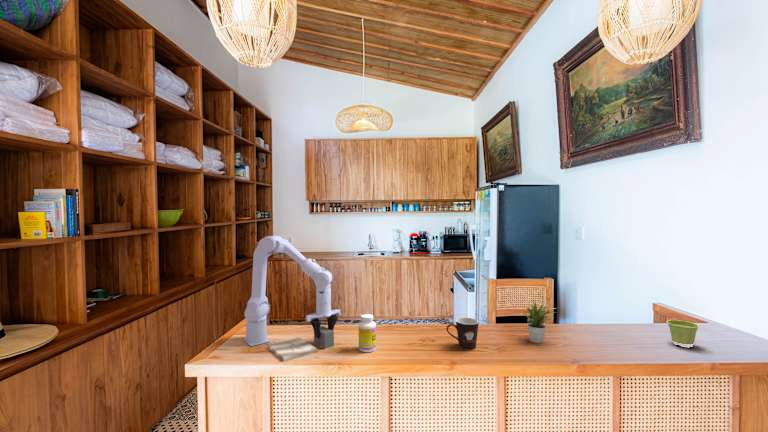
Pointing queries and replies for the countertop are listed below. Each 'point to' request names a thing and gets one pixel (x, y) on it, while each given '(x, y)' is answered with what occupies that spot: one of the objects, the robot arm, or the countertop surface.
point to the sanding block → (325, 338)
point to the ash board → (292, 348)
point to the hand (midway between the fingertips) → (323, 335)
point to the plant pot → (682, 331)
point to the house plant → (537, 322)
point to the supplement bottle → (367, 333)
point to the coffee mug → (466, 332)
